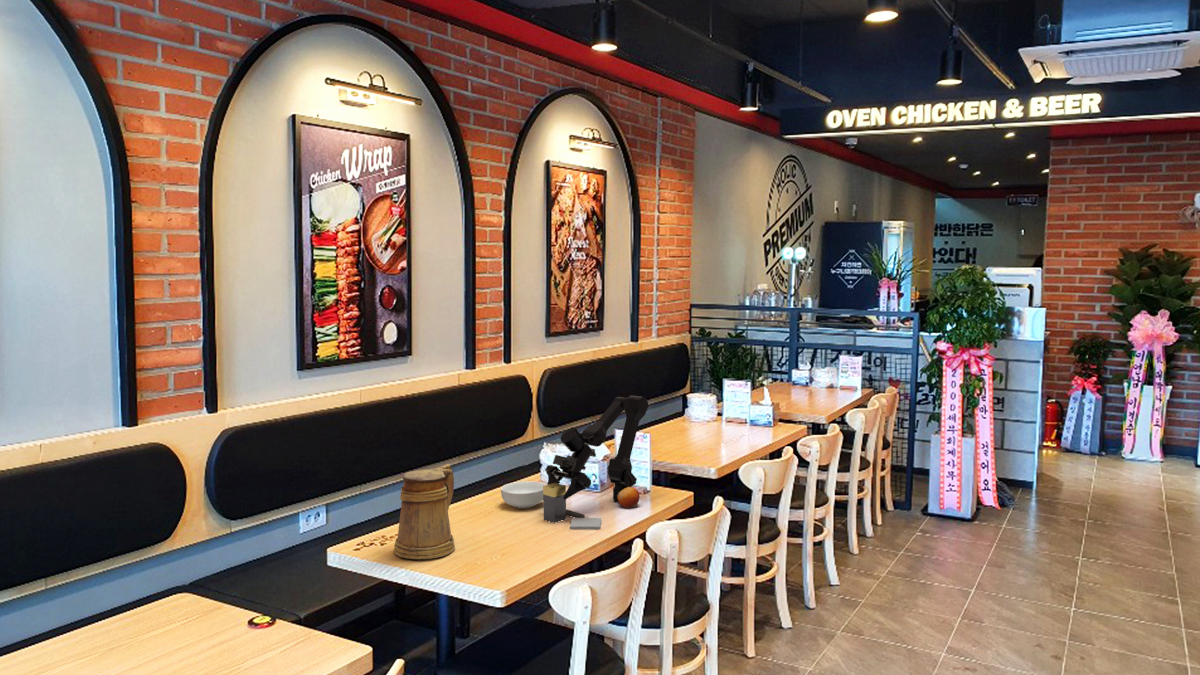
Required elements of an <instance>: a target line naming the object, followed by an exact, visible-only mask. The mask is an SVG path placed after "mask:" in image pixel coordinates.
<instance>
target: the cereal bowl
mask: <svg viewBox="0 0 1200 675" xmlns="http://www.w3.org/2000/svg"><path fill="white" fill-rule="evenodd" d="M544 485H547V484H545V483H544V482H540V481H534V480H532V481H531V480H530V481H529V480H526V481H514V482H510V483H505V484H504V485H502V486H501V487H500V494H501V498H502V500H503V502H504V503H505V504H507V505H510V506H512V507H514V508H516V507H518V508H517V509H529V508H528V507H531V508H533V506H534V507H535V506H536V505H538V504H539V503H542V502H543V486H544Z"/></svg>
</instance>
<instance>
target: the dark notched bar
mask: <svg viewBox="0 0 1200 675" xmlns="http://www.w3.org/2000/svg"><path fill="white" fill-rule="evenodd" d="M567 515H568V516H567ZM566 516H567V517H570V516H572V517H571V518H574V517H575V518H586V515H585V514H583V513H580V512H578V511H573V510H570V509H567V508H566Z"/></svg>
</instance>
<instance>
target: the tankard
mask: <svg viewBox="0 0 1200 675" xmlns="http://www.w3.org/2000/svg"><path fill="white" fill-rule="evenodd" d="M402 480H403V486H402V487H401V488H400V498H399V499H400V500H401V504H400V515H399V520H398V521H399V523H398V531H397V537H396V538H395V540H394V542H395V543H394V546H393V547H394V549H393V554H395V555H396V556H398V557H400V558H403V559H411V560H429V559H430V560H431V559H437V558H441V557H445V556H447V555H450V554H452V552H454V551H455V549H456V545H455V539H454V536H453V534H452V531H451V524H450V517H449V516H450V515H449V508H450V506H451V502H452V498H453V495H454V489H455V485H454V484H455V476H454V472H453V469H452V468H451V464H450V463H446V464H443V465H440V467H434V468H427V469H425V468H424V469H417V470H413V471H407V472H405V473H404V474H403V476H402Z"/></svg>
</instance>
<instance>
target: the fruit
mask: <svg viewBox="0 0 1200 675" xmlns="http://www.w3.org/2000/svg"><path fill="white" fill-rule="evenodd" d="M617 499H618V501H619V502H618V503H619V505H620V506H622V507H623V508H625V509H630V508H637V504H638V503H639V501H640V493H639V491H638V490H637V488H636V487H633V486H632V487H627V488H625V489H623V490H622V491H620V492H619V494H618V496H617ZM638 505H639V504H638Z"/></svg>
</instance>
